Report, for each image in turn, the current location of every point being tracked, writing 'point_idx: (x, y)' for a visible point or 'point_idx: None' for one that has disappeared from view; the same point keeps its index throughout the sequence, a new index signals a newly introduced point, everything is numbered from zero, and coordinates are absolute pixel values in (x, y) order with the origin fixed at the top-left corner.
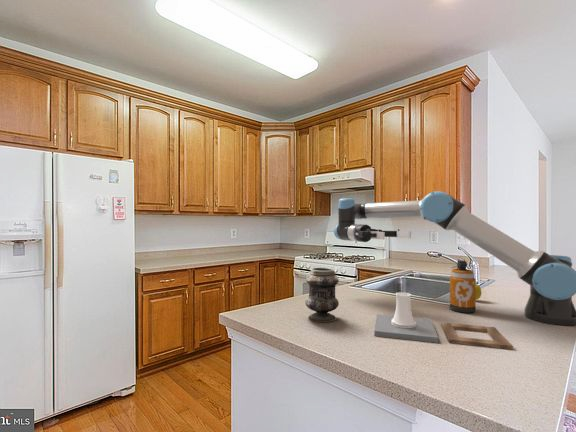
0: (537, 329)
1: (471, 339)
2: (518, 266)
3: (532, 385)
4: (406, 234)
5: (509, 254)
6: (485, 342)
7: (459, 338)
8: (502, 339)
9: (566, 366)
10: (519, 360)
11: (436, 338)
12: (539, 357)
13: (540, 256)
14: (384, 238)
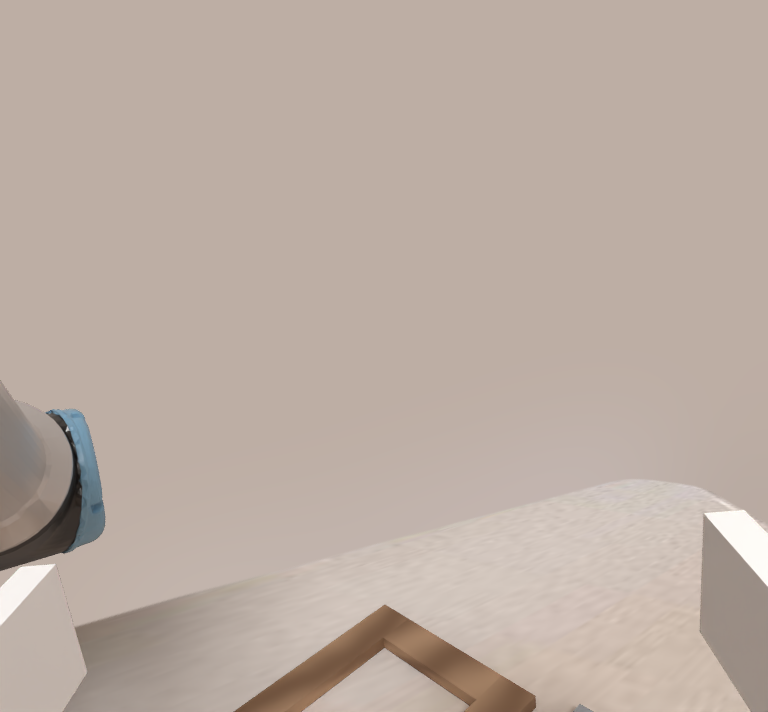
0: (94, 678)
1: (452, 668)
2: (37, 483)
3: (541, 526)
4: (31, 669)
5: (31, 440)
6: (432, 641)
7: (486, 688)
8: (354, 638)
9: (380, 543)
10: (445, 579)
11: (586, 710)
12: (378, 575)
13: (37, 408)
14: (703, 618)
